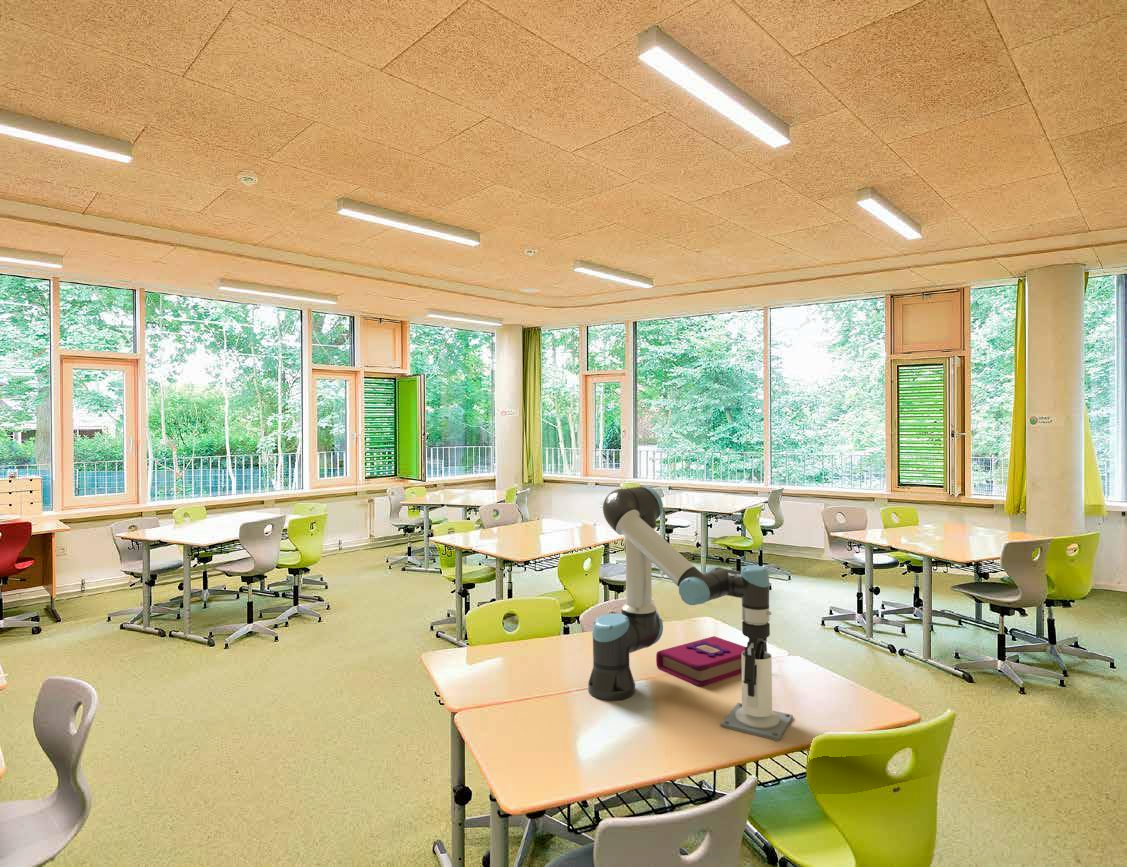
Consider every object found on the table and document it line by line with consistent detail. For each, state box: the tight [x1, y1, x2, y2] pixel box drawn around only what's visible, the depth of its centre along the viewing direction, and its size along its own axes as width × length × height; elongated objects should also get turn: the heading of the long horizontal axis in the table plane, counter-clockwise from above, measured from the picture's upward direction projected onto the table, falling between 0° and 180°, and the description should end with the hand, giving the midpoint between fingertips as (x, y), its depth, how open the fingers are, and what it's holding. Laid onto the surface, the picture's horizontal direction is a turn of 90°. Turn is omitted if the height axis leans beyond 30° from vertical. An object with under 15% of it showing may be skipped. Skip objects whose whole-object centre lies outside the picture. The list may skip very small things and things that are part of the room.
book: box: [655, 636, 746, 688], centre depth 220 cm, size 21×28×8 cm
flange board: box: [720, 702, 794, 741], centre depth 179 cm, size 16×16×2 cm
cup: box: [741, 651, 773, 717], centre depth 179 cm, size 8×8×16 cm
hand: (756, 700), depth 179 cm, fingers closed on cup, 8 cm apart
